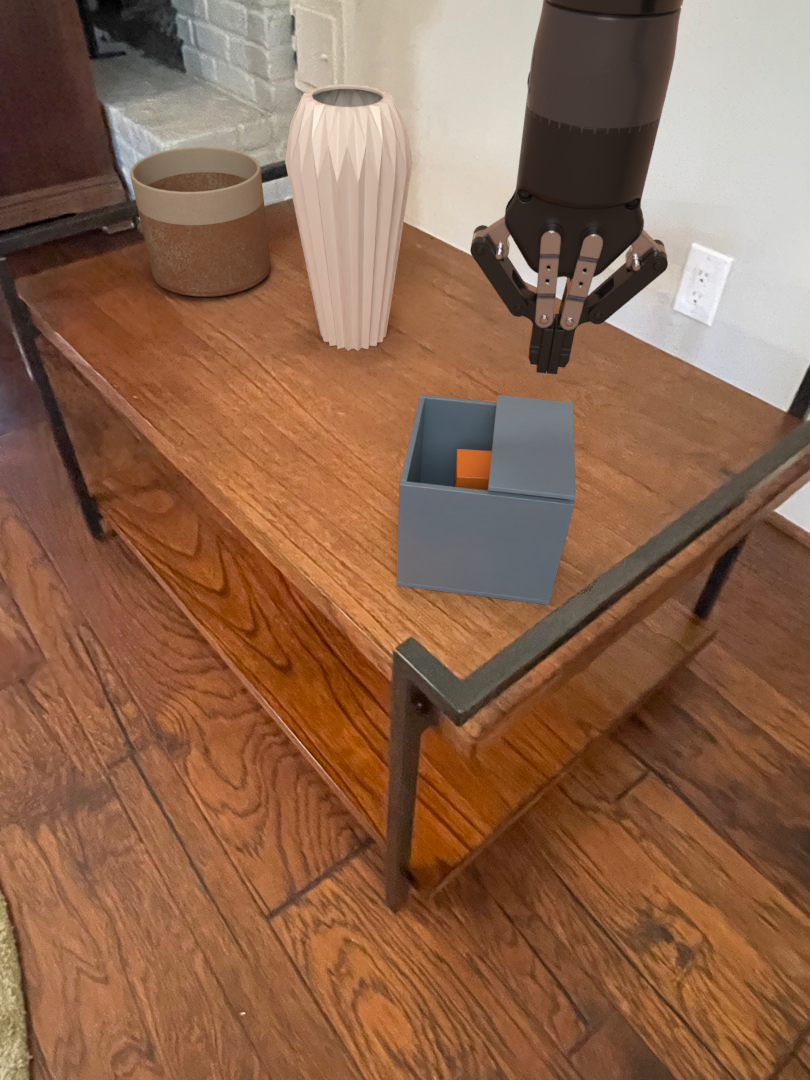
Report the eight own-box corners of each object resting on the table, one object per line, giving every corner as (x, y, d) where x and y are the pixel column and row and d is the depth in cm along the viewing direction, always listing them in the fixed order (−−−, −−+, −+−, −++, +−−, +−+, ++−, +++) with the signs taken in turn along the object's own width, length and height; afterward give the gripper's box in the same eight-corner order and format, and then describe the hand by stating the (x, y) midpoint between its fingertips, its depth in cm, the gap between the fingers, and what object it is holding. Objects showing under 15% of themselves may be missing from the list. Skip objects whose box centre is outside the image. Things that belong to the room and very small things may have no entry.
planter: (212, 238, 111) (196, 137, 101) (294, 268, 105) (286, 164, 95) (128, 278, 102) (101, 171, 92) (213, 314, 96) (195, 203, 86)
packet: (506, 529, 69) (519, 451, 62) (507, 557, 66) (521, 480, 60) (449, 525, 69) (456, 448, 63) (448, 554, 66) (456, 476, 60)
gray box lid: (572, 406, 63) (573, 402, 63) (574, 500, 55) (575, 496, 55) (497, 398, 64) (497, 394, 63) (487, 490, 55) (488, 486, 55)
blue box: (550, 509, 72) (572, 409, 63) (548, 605, 63) (574, 504, 55) (415, 493, 73) (420, 393, 64) (396, 585, 64) (399, 484, 56)
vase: (282, 321, 95) (259, 85, 76) (376, 298, 100) (376, 71, 81) (326, 374, 87) (312, 124, 68) (426, 347, 91) (439, 106, 73)
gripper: (470, 113, 40) (450, 388, 52) (726, 130, 39) (643, 407, 51) (481, 74, 45) (460, 332, 58) (706, 88, 44) (636, 349, 56)
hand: (546, 367), depth 54 cm, fingers closed
